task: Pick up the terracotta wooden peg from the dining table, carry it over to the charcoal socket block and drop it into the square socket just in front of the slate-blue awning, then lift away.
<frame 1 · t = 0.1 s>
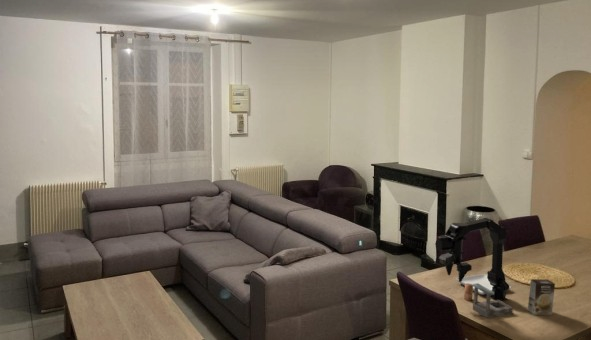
hand: (454, 278, 250), 15 cm above the table, fingers open, 9 cm apart
socket block: (496, 310, 246), on the table
coffee box: (539, 312, 245), on the table
peg: (468, 299, 260), on the table
salad plate: (482, 288, 276), on the table
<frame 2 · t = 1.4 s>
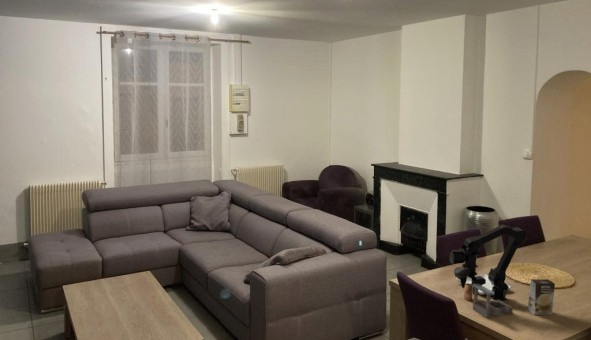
hand: (468, 291, 259), 4 cm above the table, fingers open, 9 cm apart
nothing on the table moved.
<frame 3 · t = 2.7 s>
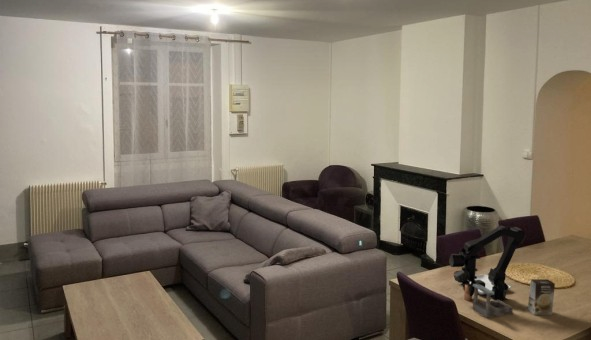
hand: (468, 294, 259), 3 cm above the table, fingers closed on peg, 4 cm apart
peg: (468, 299, 260), on the table, touching gripper
everything else where it was.
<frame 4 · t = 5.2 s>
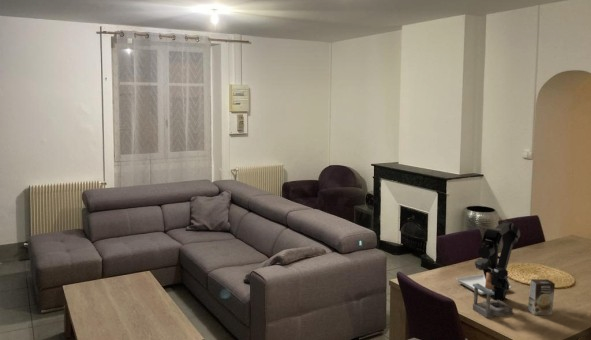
hand: (490, 283, 250), 12 cm above the table, fingers closed on peg, 4 cm apart
peg: (489, 288, 250), point 10 cm above the table, touching gripper
everything else where it was.
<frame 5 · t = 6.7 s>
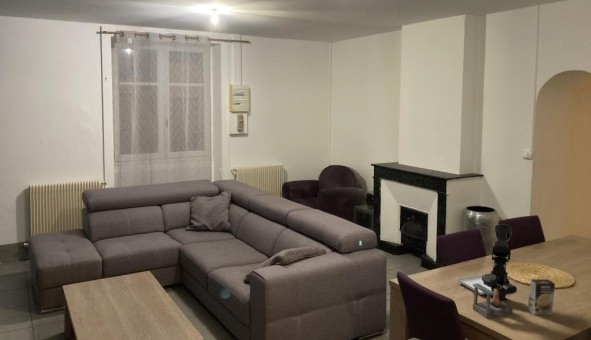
hand: (497, 299, 246), 6 cm above the table, fingers closed on peg, 4 cm apart
peg: (497, 304, 246), point 3 cm above the table, touching gripper
everything else where it was.
when the fingers open (4 cm above the table, at t = 7.8 s): peg drops 1 cm, resting in socket block.
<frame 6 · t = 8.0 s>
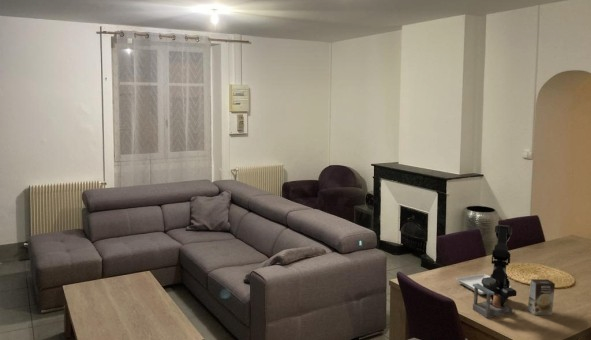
hand: (497, 303, 246), 4 cm above the table, fingers open, 6 cm apart
peg: (496, 310, 246), resting in socket block
everything else where it was.
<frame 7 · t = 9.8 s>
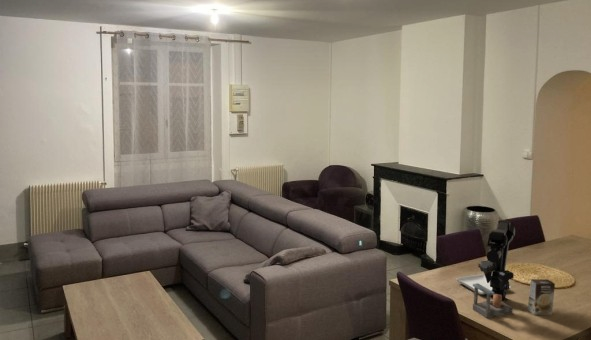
hand: (494, 286, 247), 12 cm above the table, fingers open, 9 cm apart
nothing on the table moved.
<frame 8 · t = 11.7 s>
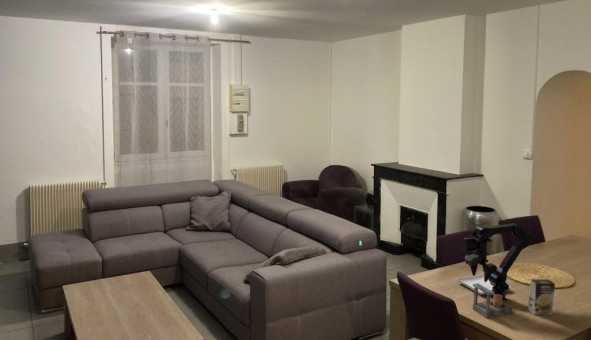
hand: (479, 278, 256), 12 cm above the table, fingers open, 9 cm apart
nothing on the table moved.
at the end: peg 0.1 cm off-centre on the socket block, point 0.0 cm above the socket block's base; peg tilted 1°; the gripper is holding nothing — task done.
